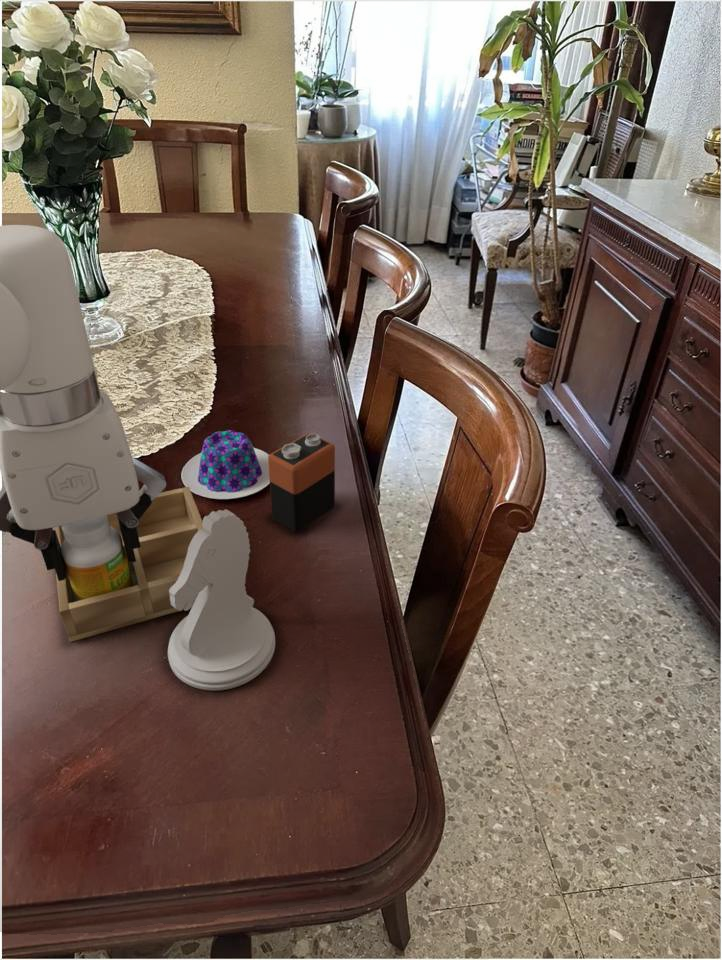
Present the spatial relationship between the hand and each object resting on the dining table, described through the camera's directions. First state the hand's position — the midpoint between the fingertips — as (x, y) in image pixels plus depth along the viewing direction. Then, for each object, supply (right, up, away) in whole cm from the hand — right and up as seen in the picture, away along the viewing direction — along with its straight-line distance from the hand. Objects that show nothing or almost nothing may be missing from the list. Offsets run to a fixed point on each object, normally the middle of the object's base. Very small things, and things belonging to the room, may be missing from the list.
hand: (96, 560), depth 63 cm
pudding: (+8, +8, +22) cm, 25 cm away
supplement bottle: (0, -4, +3) cm, 5 cm away
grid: (+2, -2, +7) cm, 8 cm away
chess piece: (+12, -8, -1) cm, 15 cm away
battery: (+18, +4, +16) cm, 24 cm away
